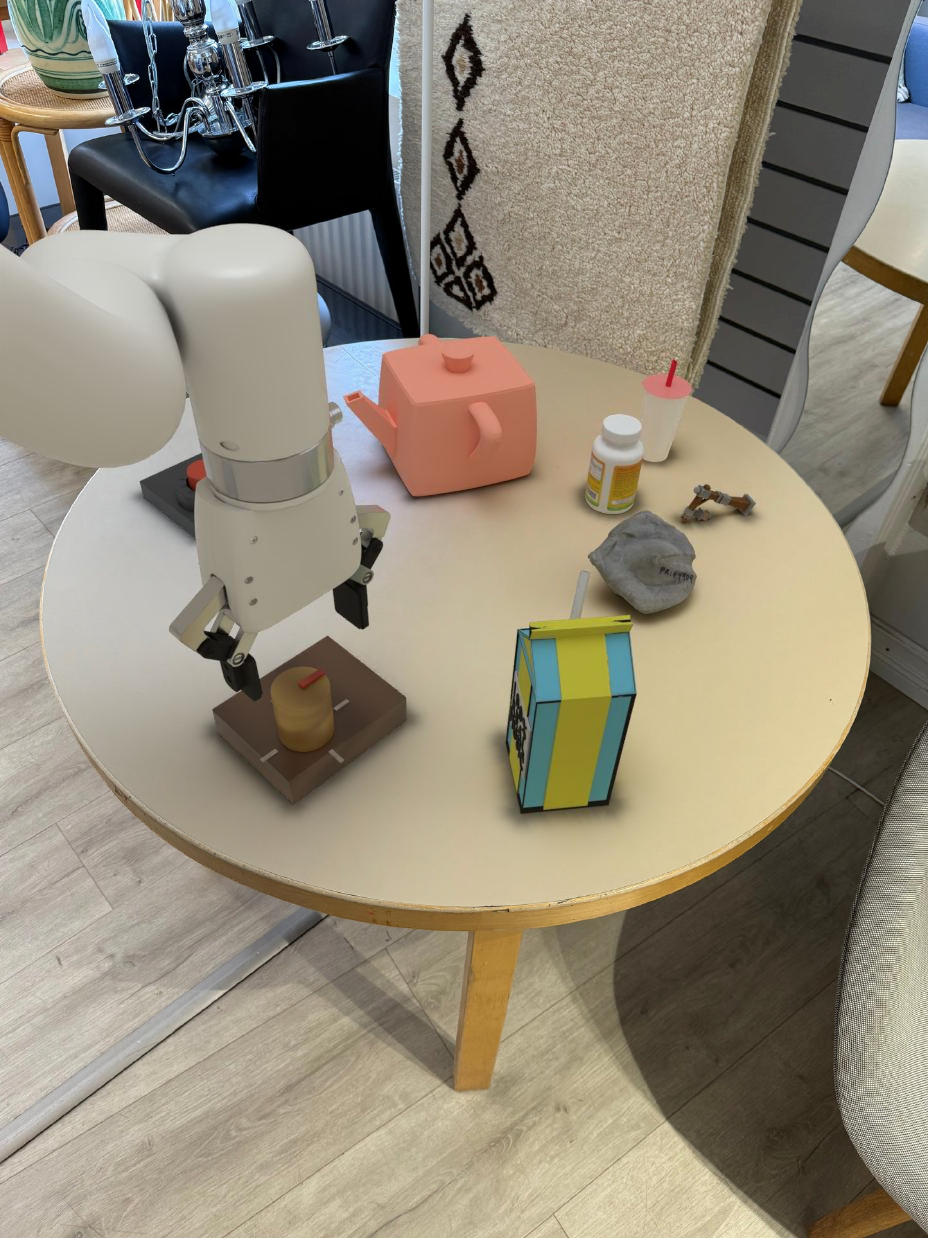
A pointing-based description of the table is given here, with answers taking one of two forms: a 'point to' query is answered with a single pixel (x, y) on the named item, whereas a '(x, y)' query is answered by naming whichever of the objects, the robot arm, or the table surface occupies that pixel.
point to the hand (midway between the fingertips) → (301, 652)
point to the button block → (173, 493)
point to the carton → (570, 708)
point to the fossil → (647, 562)
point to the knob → (303, 708)
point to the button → (196, 473)
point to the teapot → (453, 414)
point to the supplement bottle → (615, 465)
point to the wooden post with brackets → (704, 492)
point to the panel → (358, 713)
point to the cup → (662, 412)
